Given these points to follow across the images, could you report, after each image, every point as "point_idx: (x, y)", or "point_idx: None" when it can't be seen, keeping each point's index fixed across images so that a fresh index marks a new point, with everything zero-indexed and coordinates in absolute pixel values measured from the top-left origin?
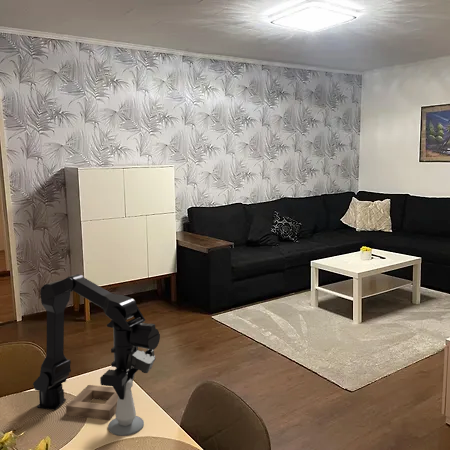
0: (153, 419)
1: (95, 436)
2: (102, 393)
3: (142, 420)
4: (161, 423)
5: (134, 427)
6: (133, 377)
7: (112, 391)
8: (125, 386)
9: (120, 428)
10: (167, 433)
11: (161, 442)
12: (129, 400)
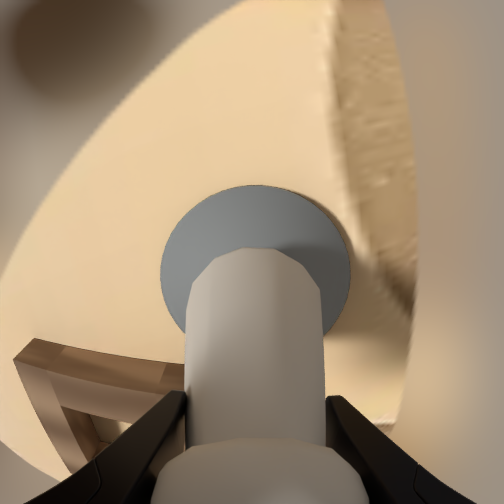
0: (163, 153)
1: (350, 371)
2: (80, 435)
3: (203, 206)
4: (198, 94)
5: (284, 228)
6: (80, 489)
7: (59, 413)
8: (412, 498)
9: None
10: (294, 39)
11: (376, 57)
12: (297, 344)
